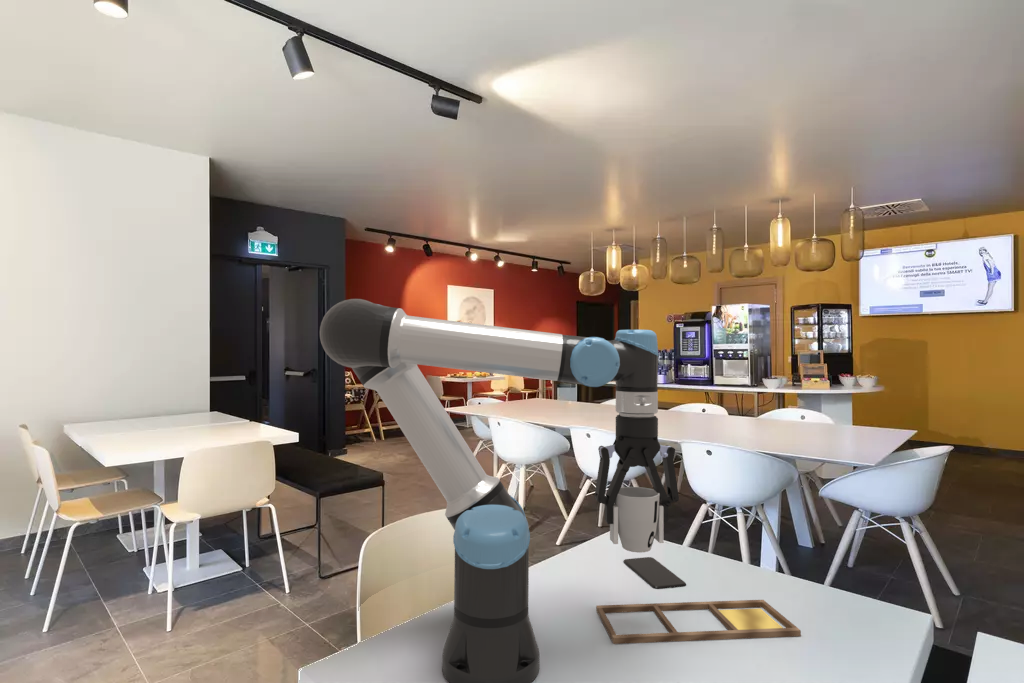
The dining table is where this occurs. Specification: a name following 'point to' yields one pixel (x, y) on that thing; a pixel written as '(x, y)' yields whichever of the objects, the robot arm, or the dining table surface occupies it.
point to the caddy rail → (734, 620)
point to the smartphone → (654, 573)
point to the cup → (637, 517)
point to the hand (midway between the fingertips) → (636, 540)
